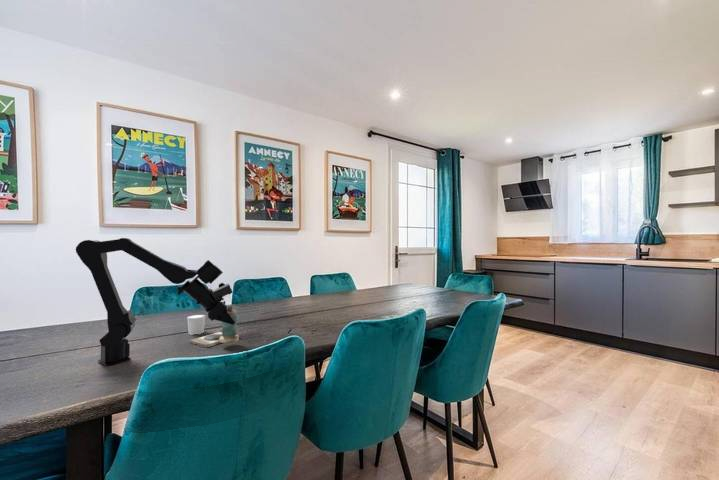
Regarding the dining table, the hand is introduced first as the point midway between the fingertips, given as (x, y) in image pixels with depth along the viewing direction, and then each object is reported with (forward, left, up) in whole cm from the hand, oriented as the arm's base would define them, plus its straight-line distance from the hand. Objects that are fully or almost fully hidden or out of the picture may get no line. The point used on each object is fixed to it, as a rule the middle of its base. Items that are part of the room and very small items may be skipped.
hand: (233, 321), depth 116 cm
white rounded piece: (+3, +27, -9) cm, 28 cm away
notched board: (+1, +12, -9) cm, 15 cm away
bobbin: (-1, +1, -7) cm, 7 cm away
